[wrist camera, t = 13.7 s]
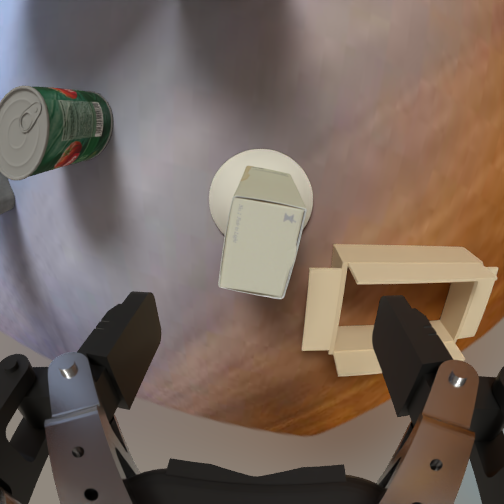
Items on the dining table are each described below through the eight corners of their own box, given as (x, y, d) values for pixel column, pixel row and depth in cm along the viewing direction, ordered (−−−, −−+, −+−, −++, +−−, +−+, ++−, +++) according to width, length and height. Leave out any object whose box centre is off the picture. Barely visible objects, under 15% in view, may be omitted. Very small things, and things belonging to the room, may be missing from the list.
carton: (479, 247, 30) (516, 275, 22) (457, 321, 34) (484, 356, 26) (304, 243, 31) (315, 280, 23) (298, 330, 35) (303, 378, 28)
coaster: (313, 149, 27) (314, 150, 27) (309, 248, 31) (310, 250, 30) (208, 149, 28) (207, 150, 27) (212, 246, 32) (211, 249, 31)
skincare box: (246, 164, 27) (230, 189, 16) (293, 174, 28) (310, 205, 16) (234, 227, 30) (214, 288, 19) (279, 235, 30) (284, 301, 19)
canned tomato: (76, 174, 29) (10, 199, 19) (48, 122, 27) (-20, 130, 16) (126, 132, 27) (61, 139, 17) (94, 76, 25) (27, 66, 15)
